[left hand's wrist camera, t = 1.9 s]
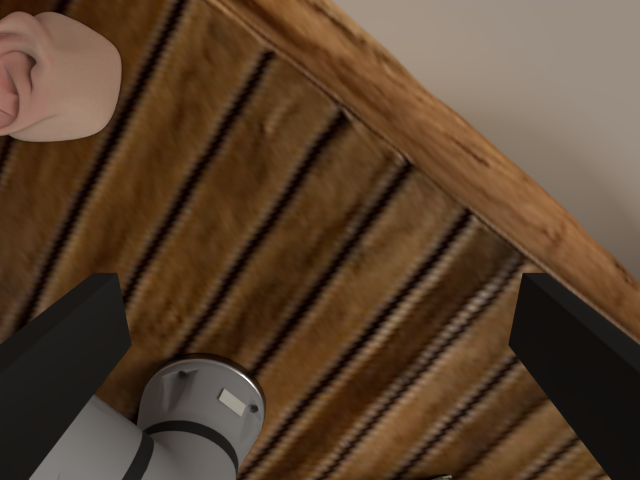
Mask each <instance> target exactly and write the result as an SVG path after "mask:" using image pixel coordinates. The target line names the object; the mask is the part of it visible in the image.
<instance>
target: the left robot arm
mask: <svg viewBox="0 0 640 480" xmlns="http://www.w3.org/2000/svg"><path fill="white" fill-rule="evenodd" d="M131 345H132V344H131V339H130V334H129V329H128V324H127V319H126V314H125V309H124V304H123V299H122V294H121V289H120V284H119V279H118V274H117V273H93V274H92V275H90V276H89V277H88V278H86V279H85V280H84V281H83V282H81V283H80V284H79V285H77V286H76V287H75V288H73V289H72V290H71V291H70V292H68V293H67V294H66V295H64V296H63V297H62V298H61V299H59V300H58V301H57V302H55V303H54V304H53V305H51V306H50V307H49V308H48V309H46V310H45V311H44V312H42V313H41V314H40V315H39V316H37V317H36V318H35V319H33V320H32V321H31V322H29V323H28V324H27V325H26V326H24V327H23V328H22V329H20V330H19V331H18V332H16V333H15V334H14V335H13V336H11V337H10V338H9V339H7V340H6V341H5V342H4V343H2V344H1V345H0V480H236V477H237V473H238V468H239V467H240V465H241V463H242V462H243V460H244V459H245V457H246V455H247V454H248V452H249V450H250V449H251V447H252V446H253V444H254V442H255V441H256V439H257V437H258V436H259V433H260V431H261V429H262V426H263V422H264V417H265V411H266V401H265V396H264V393H263V390H262V388H261V386H260V384H259V383H258V381H257V380H256V379H255V377H254V376H253V375H252V374H251V373H250V372H249V371H247V370H246V369H245V368H244V367H242V366H241V365H239V364H237V363H235V362H233V361H231V360H229V359H226V358H223V357H220V356H216V355H210V354H190V355H185V356H181V357H178V358H175V359H172V360H170V361H168V362H167V363H165V364H164V365H162V366H161V367H160V368H159V369H158V370H157V371H156V372H155V373H154V374H153V376H152V377H151V379H150V380H149V382H148V384H147V385H146V387H145V389H144V392H143V395H142V398H141V402H140V408H139V415H138V422H137V426H136V425H135V424H133V423H132V422H131V421H129V420H128V419H127V418H125V417H124V416H123V415H122V414H120V413H119V412H118V411H116V410H115V409H114V408H112V407H111V406H110V405H108V404H107V403H106V402H104V401H103V400H102V399H100V398H99V397H98V396H96V395H95V392H96V391H97V390H98V388H99V387H100V386H101V384H102V383H103V382H104V380H105V379H106V378H107V376H108V375H109V374H110V373H111V371H112V370H113V369H114V367H115V366H116V365H117V363H118V362H119V361H120V359H121V358H122V357H123V356H124V354H125V353H126V352H127V350H128V349H129V348H130V346H131ZM508 345H509V346H510V348H511V349H512V350H513V352H514V353H515V354H516V356H517V357H518V358H519V359H520V361H521V362H522V363H523V365H524V366H525V367H526V369H527V370H528V371H529V373H530V374H531V375H532V377H533V378H534V379H535V380H536V382H537V383H538V384H539V386H540V387H541V388H542V390H543V391H544V392H545V394H546V395H547V396H548V397H549V399H550V400H551V401H552V403H553V404H554V405H555V407H556V408H557V409H558V411H559V412H560V413H561V414H562V416H563V417H564V418H565V420H566V421H567V422H568V424H569V425H570V426H571V428H572V429H573V430H574V432H575V433H576V434H577V435H578V437H579V438H580V439H581V441H582V442H583V443H584V445H585V446H586V447H587V449H588V450H589V451H590V452H591V454H592V455H593V456H594V458H595V459H596V460H597V462H598V463H599V464H600V466H601V467H602V468H603V469H604V471H605V472H606V473H607V475H608V476H609V477H610V479H611V480H640V345H639V344H638V343H636V342H635V341H634V340H633V339H631V338H630V337H629V336H627V335H626V334H625V333H624V332H622V331H621V330H620V329H618V328H617V327H616V326H614V325H613V324H612V323H611V322H609V321H608V320H607V319H605V318H604V317H603V316H601V315H600V314H599V313H598V312H596V311H595V310H594V309H592V308H591V307H590V306H589V305H587V304H586V303H585V302H583V301H582V300H581V299H579V298H578V297H577V296H576V295H574V294H573V293H572V292H570V291H569V290H568V289H567V288H565V287H564V286H563V285H561V284H560V283H559V282H557V281H556V280H555V279H554V278H552V277H551V276H550V275H548V274H547V273H523V274H522V279H521V284H520V289H519V294H518V299H517V304H516V309H515V314H514V319H513V324H512V329H511V334H510V339H509V344H508Z"/></svg>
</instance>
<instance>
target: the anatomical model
mask: <svg viewBox="0 0 640 480" xmlns="http://www.w3.org/2000/svg"><path fill="white" fill-rule="evenodd" d="M121 72H122V67H121V59H120V55H119V53H118V51H117V49H116V48H115V47H114V45H113V44H112V43H111V42H109V41H108V40H107V39H105V38H104V37H103V36H101V35H100V34H98V33H97V32H95V31H93V30H92V29H90V28H88V27H87V26H85V25H83V24H82V23H80V22H78V21H76V20H73V19H71V18H68V17H66V16H64V15H61V14H58V13H54V12H45V13H41V14H38V15H36V16H34V17H33V16H31V15H30V14H27V13H24V12H14V13H11V14H9V15H8V16H6V17H5V18H3V19H2V20H0V136H3V135H8V134H9V135H10V136H12V137H14V138H16V139H19V140H23V141H32V142H50V141H63V140H72V139H78V138H83V137H87V136H90V135H93V134H95V133H97V132H99V131H101V130H102V129H103V128H104V127H105V126H106V125H107V124H108V122H109V121H110V119H111V117H112V115H113V113H114V110H115V107H116V104H117V101H118V96H119V91H120V84H121Z"/></svg>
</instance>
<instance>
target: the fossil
mask: <svg viewBox="0 0 640 480" xmlns="http://www.w3.org/2000/svg"><path fill="white" fill-rule="evenodd" d="M432 480H452V477H451V476H443V477H438V478H436V479H432Z"/></svg>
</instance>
